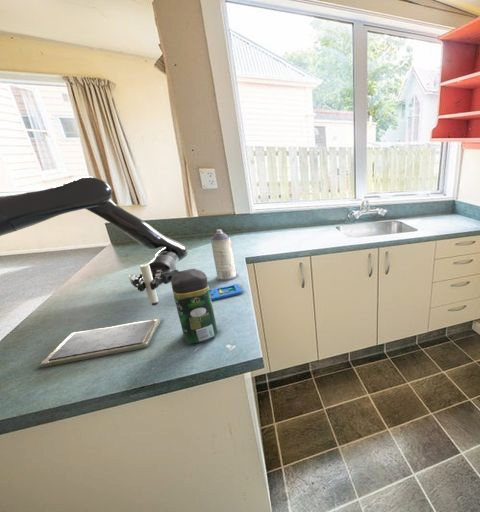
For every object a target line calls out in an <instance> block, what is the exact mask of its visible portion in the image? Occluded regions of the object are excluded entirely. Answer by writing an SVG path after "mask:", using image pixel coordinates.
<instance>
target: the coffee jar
mask: <svg viewBox="0 0 480 512" xmlns="http://www.w3.org/2000/svg"><path fill="white" fill-rule="evenodd" d="M178 271H179V272H177V273H176V274H175V275H174V276H173V277H172V278H171V282H170V285H171V289H172V294H173V298H174V303H175V307H176V311H177V315H178V319H179V323H180V326H181V331H182V334H183V338H184V340H185V341H186V343H187V344H200V343H205V342H207V341H210V340H211V339H213V338H214V337H216V336H217V335H218V327H217V326H218V325H217V321H216V318H215V312H214V307H213V302H212V300H211V297H210V292H209V290H210V287H209V282H208V277H207V275H206V274H205V272H203V270H199V269H196V268H190V269H184V270H178Z"/></svg>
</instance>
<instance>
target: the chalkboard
mask: <svg viewBox="0 0 480 512" xmlns="http://www.w3.org/2000/svg"><path fill="white" fill-rule="evenodd" d="M161 320H162V319H161V318H154V319H148V320H142V321H136V322H130V323H124V324H118V325H112V326H106V327H100V328H93V329H87V330H81V331H74V332H71V333H70V334H69V335H68V336H67V337H66V338H65V339H64V340H63V341H61V343H60V344H59V345H58V346H57V347H56V348H55V349H54V350H53V351H52V352H51V353H50V354H49V355H48V356H47V357H46V358H45V359H43V361H42V362H41V363H40V367H41V368H47V367H52V366H57V365H58V366H59V365H62V364H67V363H72V362H78V361H83V360H88V359H93V358H100V357H105V356H108V355H109V356H110V355H114V354H119V353H125V352H129V351H130V352H131V351H135V350H140V349H146V348H148V347H149V345H150V342H151V340H152V338H153V337H154V335H155V333H156V331H157V329H158V328H159V325H160V324H161V322H162V321H161Z"/></svg>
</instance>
